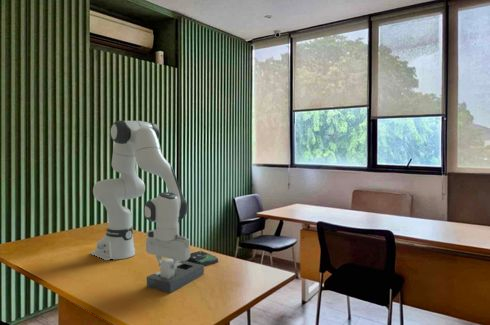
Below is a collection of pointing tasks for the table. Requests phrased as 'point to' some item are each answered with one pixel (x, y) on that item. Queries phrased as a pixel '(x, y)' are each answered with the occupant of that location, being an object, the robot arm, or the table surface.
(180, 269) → the panel
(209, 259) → the disk drive
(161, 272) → the plug
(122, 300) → the table surface
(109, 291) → the table surface
